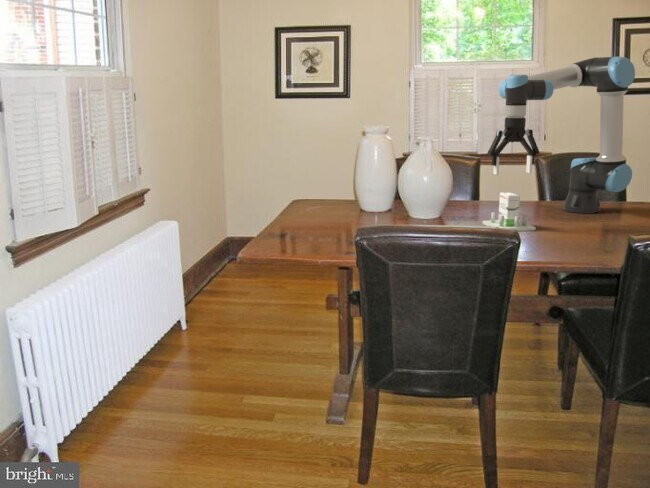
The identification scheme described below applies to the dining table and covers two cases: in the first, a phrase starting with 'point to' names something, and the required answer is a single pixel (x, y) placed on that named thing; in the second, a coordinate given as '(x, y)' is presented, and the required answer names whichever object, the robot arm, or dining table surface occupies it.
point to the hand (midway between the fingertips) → (512, 173)
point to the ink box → (509, 207)
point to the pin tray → (517, 226)
